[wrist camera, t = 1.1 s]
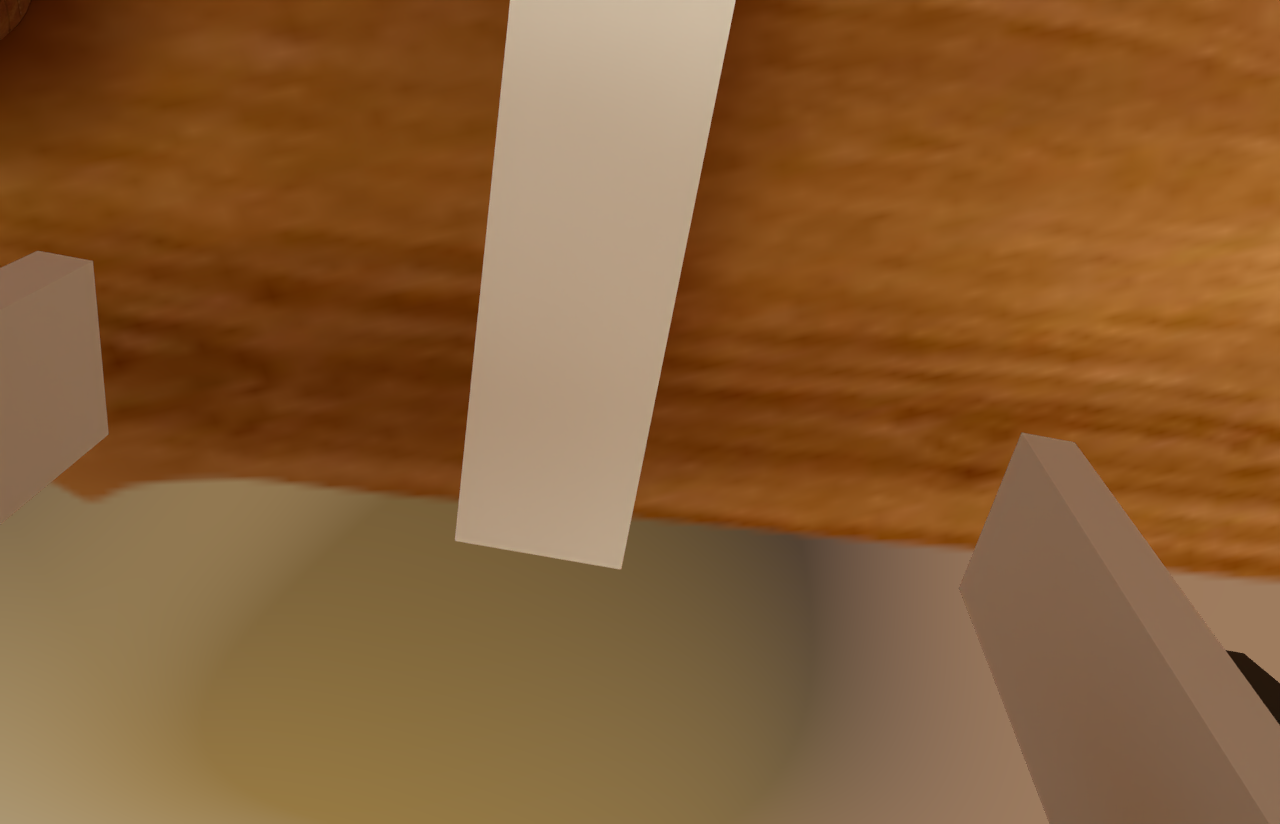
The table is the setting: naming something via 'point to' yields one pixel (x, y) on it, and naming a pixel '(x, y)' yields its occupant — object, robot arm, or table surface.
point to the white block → (583, 264)
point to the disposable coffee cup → (11, 14)
